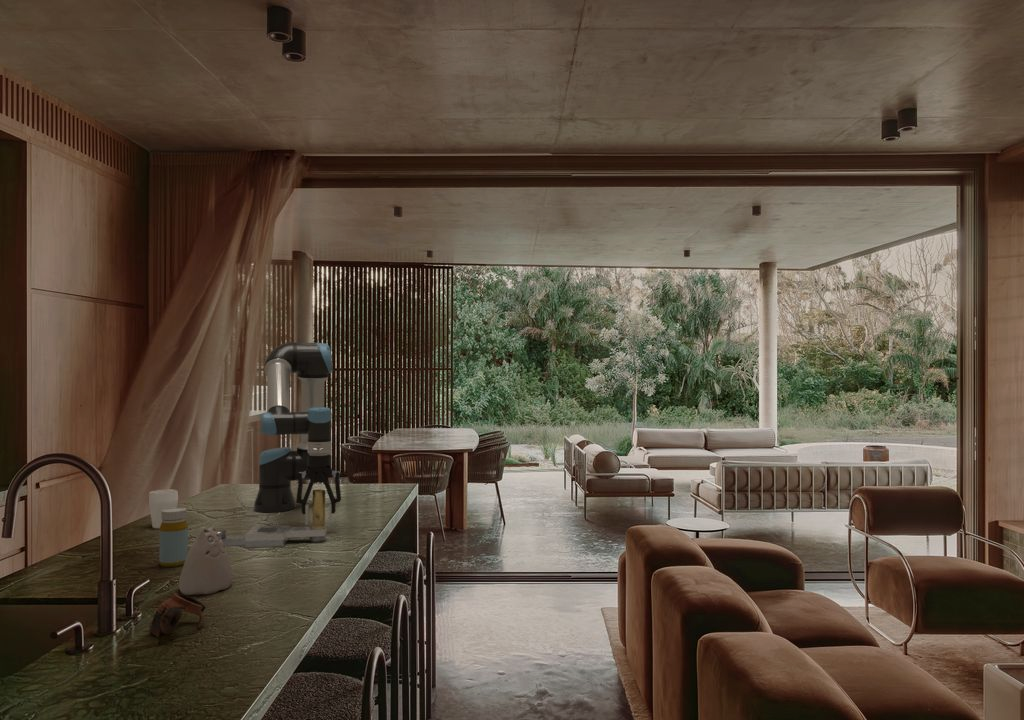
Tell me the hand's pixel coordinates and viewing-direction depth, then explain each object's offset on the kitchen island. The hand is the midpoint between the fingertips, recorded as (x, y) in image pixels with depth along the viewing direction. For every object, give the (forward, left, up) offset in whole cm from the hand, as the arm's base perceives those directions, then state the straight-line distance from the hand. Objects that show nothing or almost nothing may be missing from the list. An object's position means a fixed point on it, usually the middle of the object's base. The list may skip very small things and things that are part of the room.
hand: (318, 523), depth 227 cm
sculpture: (+55, -20, -3) cm, 59 cm away
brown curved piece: (+84, -18, -3) cm, 86 cm away
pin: (0, 0, -3) cm, 3 cm away
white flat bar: (+11, -14, -3) cm, 18 cm away
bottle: (+32, -35, -3) cm, 48 cm away
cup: (-17, -54, -3) cm, 57 cm away
